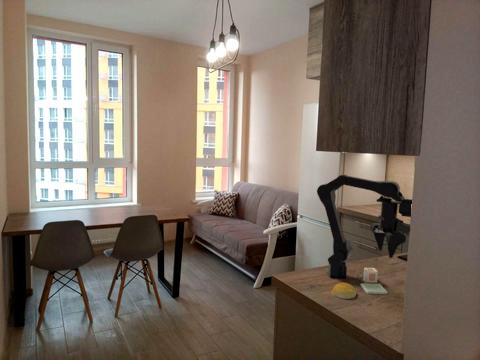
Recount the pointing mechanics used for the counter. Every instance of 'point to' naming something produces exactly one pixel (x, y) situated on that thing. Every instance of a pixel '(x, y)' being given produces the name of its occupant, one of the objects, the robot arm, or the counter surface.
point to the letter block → (370, 275)
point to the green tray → (373, 288)
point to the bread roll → (344, 291)
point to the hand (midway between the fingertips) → (385, 253)
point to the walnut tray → (369, 283)
